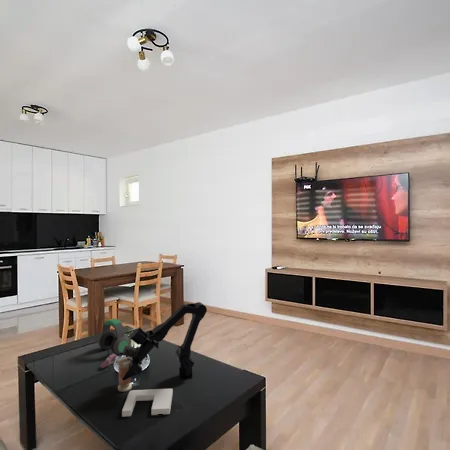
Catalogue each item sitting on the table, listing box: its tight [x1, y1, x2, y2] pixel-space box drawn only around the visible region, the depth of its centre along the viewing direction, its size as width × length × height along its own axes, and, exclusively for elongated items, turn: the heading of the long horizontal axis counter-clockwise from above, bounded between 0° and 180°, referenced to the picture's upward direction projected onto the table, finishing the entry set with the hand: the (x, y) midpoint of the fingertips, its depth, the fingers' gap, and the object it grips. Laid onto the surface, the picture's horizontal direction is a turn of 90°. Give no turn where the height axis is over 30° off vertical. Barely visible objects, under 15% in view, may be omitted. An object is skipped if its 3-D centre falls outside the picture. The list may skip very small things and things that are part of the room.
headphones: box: [97, 318, 130, 355], centre depth 202 cm, size 19×11×20 cm, turn 55°
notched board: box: [121, 388, 174, 418], centre depth 145 cm, size 20×16×2 cm
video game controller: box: [99, 352, 118, 369], centre depth 184 cm, size 10×5×7 cm, turn 169°
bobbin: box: [116, 356, 133, 393], centre depth 159 cm, size 7×7×14 cm
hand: (121, 375), depth 158 cm, fingers open, 9 cm apart
